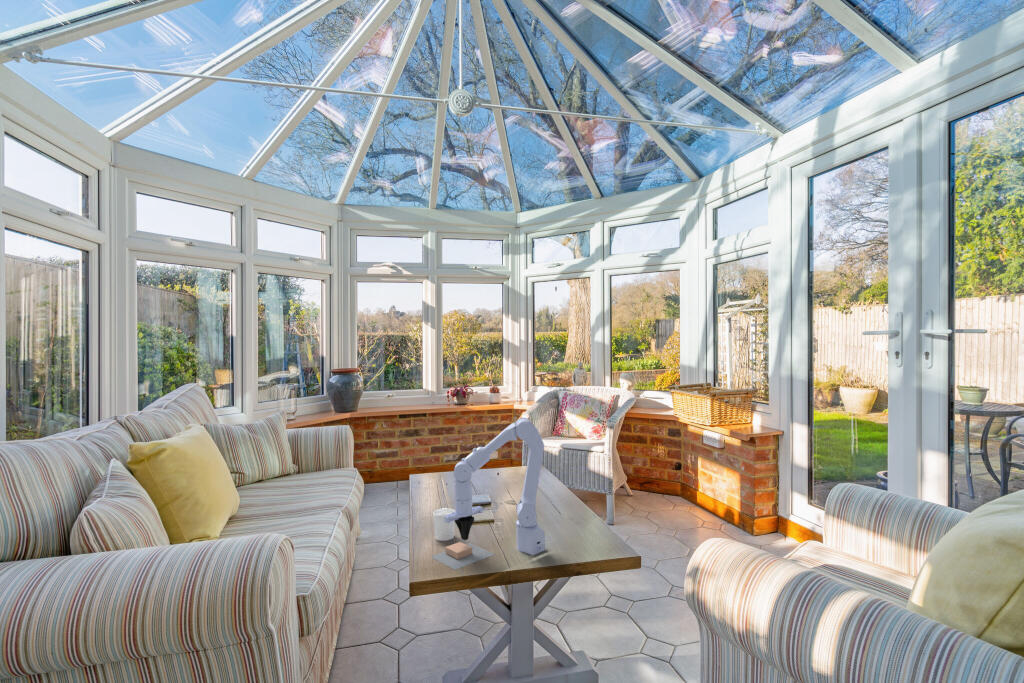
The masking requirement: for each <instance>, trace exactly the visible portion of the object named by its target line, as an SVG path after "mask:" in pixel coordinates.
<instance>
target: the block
mask: <svg viewBox="0 0 1024 683" xmlns="http://www.w3.org/2000/svg"><path fill="white" fill-rule="evenodd" d="M466 544H467V543H464V542H461V541H458V542H456V543H453V544H451V545H448V546H445V548H444V550H445V551H444V552H445V553H446V554H448V555H450V556H452V557H454V558H456V559H460V558H462V557H465V556H468V555H470V554H473V553H472V547H470V546H468V545H466Z"/></svg>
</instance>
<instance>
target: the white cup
mask: <svg viewBox="0 0 1024 683" xmlns="http://www.w3.org/2000/svg"><path fill="white" fill-rule="evenodd" d="M453 512H455V509H453V508H450V507H445V508H443V507H441V508H438V509H435V510H434V511H433V512H432V518H433V528H434V529H433V530H434V531H433V532H434V538H435V540H436V541H440V542H441V541H442V542H444V541H445V542H446V541H449V540H452V539H454V538H455V529H456V528H455V526H456V523H455V521H451V522H450V523H446V522H444V516H447V515H449V514H451V513H453Z"/></svg>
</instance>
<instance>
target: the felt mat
mask: <svg viewBox="0 0 1024 683" xmlns="http://www.w3.org/2000/svg"><path fill="white" fill-rule="evenodd" d="M465 544H466V545H468V546H470V547H472V553H473V554H470V555H468V556H465V557H462V558H460V559H456V558H454V557H452V556H450V555H448V554H446V553H445V551H442V552H439V553H436V554H434V555H431V556H430V558H432V559H433V560H435V561H438V562H440V563H441V564H443V565H445V566H447V567H449V568H451V569H452V570H454V571H455V570H459V569H462V568H463V567H465V566H469V565H471V564H474V563H475V562H479V561H481V560H482V561H483V560H484V559H486V558H490V557H491V556H494V555H495V553H493V552H491V551H489V550H486V549H484V548H482V547H480V546H478V545H476V544H473V543H471V542H468V543H465Z"/></svg>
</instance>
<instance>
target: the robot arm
mask: <svg viewBox="0 0 1024 683" xmlns="http://www.w3.org/2000/svg"><path fill="white" fill-rule="evenodd" d="M517 437H518V438H519V439H520V440H521V441H523V442H525V444H526V445H527V446H528V447H529V451H528V457H527V462H526V463H527V464H526V468H525V469H526V470H525V476H524V481H523V487H522V493H521V495H520V500H519V501H518V503H517V505H516V508H515V511H516V514H517V520H516V521H515V531H516V550H517V551H518V552H521V553H525V554H528V555H530V556H535V555H537V554H539V553H542V552H544V551H546V539H545V538H546V536H545V531H544V529H543V528H542V527H541V526H539V524H538V521H537V520H538V515H537V511H536V509H537V493H538V488H539V480H540V474H541V468H542V462H543V457H544V456H543V455H544V449H545V443H544V441H543V439H542V436H541V434H540V433H539V430H538V428H537V427H536V425H535V424H534V423H533V422H532V421H531V420H530V419H529V418H527V417H520V418H518V419H517V420H516V421H515V422H512V423H510V424H509V425H508V426H507V427H505V428H504V429H503V430H502V431H501V432H500V433H499V434H498V435H496V436H495V437H494V438H493V439H492V440H490V442H488V443H487V444H486V445H485V446H477V448H476V447H474V448H473V449H472V452H470V454H468V455H466V457H463V458H461V461H459V462H457V463H456V464H455V466H454V469H453V476H454V508H455V509H454V510H455V512H453V513H451V514H449V515H447V516H444V522H446V523H450V522H451V521H455V525H456V526H457V528H458V531H459V534H460V535H459V536H460V538H461V540H463V541H468V540H469V535H470V532H471V528H472V527H473V526H472V525H473V523H474V522H475V517H474V515H477V514H483V513H484V511H483V510H484V509H483V506H480V505H478V506H473V487H472V486H473V485H472V482H471V477H472V474H473V473H476V472H477V471H478V470H480V469H481V468H482V467H483V466H484V465H486V464H487V463H488V462H489V461H490V460H491V459H490V458H491V454H493V453H495V451H497V450H498V449H500V448H501V447H503V446H504V444H507V442H509V441H518V438H517Z"/></svg>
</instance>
